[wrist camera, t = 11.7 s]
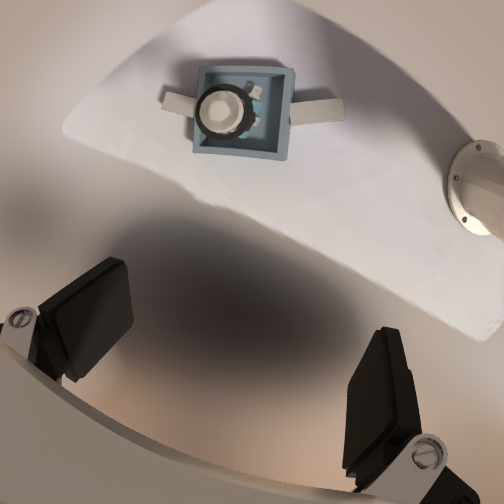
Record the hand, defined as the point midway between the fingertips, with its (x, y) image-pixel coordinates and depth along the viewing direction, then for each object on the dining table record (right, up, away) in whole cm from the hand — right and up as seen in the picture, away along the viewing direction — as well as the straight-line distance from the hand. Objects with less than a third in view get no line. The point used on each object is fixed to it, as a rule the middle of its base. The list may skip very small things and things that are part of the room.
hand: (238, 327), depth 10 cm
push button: (0, +19, +21) cm, 28 cm away
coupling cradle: (0, +19, +21) cm, 28 cm away
